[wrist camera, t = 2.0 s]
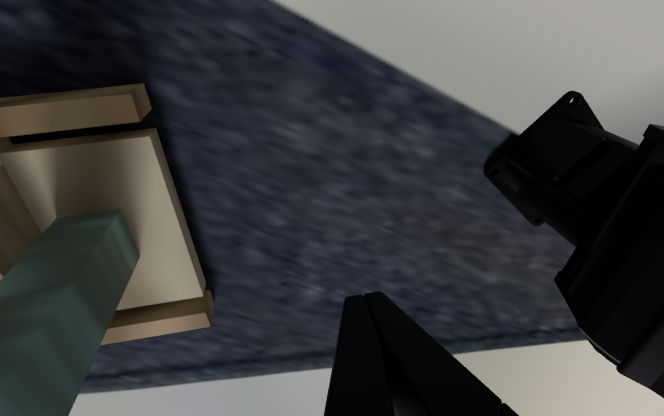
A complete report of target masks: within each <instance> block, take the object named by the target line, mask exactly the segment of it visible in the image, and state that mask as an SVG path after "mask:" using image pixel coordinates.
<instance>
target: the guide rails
mask: <svg viewBox="0 0 664 416" xmlns="http://www.w3.org/2000/svg"><path fill="white" fill-rule="evenodd" d="M151 109H152V108H151V105H150V101H149V98H148V95H147V92H146V89H145V86H144V83H142V84H132V85H122V86H113V87H103V88H93V89H84V90H74V91H64V92H54V93H45V94H35V95H25V96H15V97H6V98H0V137H9V136H18V135H27V134H36V133H45V132H53V131H62V130H71V129H80V128H89V127H98V126H107V125H116V124H124V123H133V122H141V120H142V119H143V118H144V117H145V116H146V115H147V114H148V113H149V112H150V111H151ZM213 307H214V301H213V298H212V295H211V292H210V290H204V295H203V296H202V297H196V298H190V299H184V300H177V301H171V302H165V303H159V304H152V305H146V306H140V307H134V308H128V309H121V310H116V311H115V313H114V316H113V318H112V320H111V322H110V325H109V327H108V329H107V331H106V333H105V336H104V338H103V340H102V342H101V344H100V345H104V344H110V343H116V342H122V341H128V340H134V339H140V338H146V337H152V336H158V335H163V334H169V333H175V332H181V331H187V330H193V329H199V328H205V327H210V326H211V320H212V313H213Z"/></svg>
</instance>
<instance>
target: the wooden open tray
mask: <svg viewBox="0 0 664 416" xmlns="http://www.w3.org/2000/svg"><path fill="white" fill-rule="evenodd" d="M205 285H206V281H205V278H204V275H203V272H202V269H201V266H200V263H199V260H198V257H197V254H196V251H195V247H194V244H193V241H192V238H191V235H190V232H189V229H188V226H187V223H186V220H185V216H184V213H183V210H182V207H181V204H180V201H179V198H178V195H177V192H176V189H175V186H174V182H173V179H172V176H171V173H170V170H169V167H168V164H167V161H166V158H165V155H164V151H163V148H162V145H161V142H160V139H159V136H158V133H157V130H156V128H152V129H143V130H134V131H126V132H117V133H108V134H100V135H91V136H82V137H73V138H65V139H56V140H47V141H39V142H30V143H21V144H12V143H11V141H10V139H9V137H0V416H68V415H69V413H70V411H71V408H72V406H73V404H74V402H75V400H76V397H77V395H78V393H79V391H80V389H81V386H82V384H83V382H84V380H85V378H86V375H87V373H88V371H89V369H90V367H91V364H92V362H93V360H94V358H95V355H96V353H97V351H98V349H99V347H100V344H101V342H102V340H103V338H104V336H105V333H106V331H107V329H108V327H109V325H110V322H111V320H112V318H113V316H114V313H115V311H116V310H121V309H128V308H134V307H140V306H146V305H152V304H159V303H165V302H171V301H177V300H184V299H190V298H196V297H202V296H203V295H204V290H205Z"/></svg>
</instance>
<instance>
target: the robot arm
mask: <svg viewBox="0 0 664 416" xmlns="http://www.w3.org/2000/svg"><path fill="white" fill-rule="evenodd" d="M572 98H573V101H572V102H571V103H570V100H571V99H572ZM643 136H644V139H643V141H642V142H641V144H640V145H638V144H636V143H633V142H631V141H629V140H626V139H624V138H621V137H619V136H617V135H614V134H612V133H610V132H607V131H605V130H604V129H603V127H602V125H601V124H600V122H599V121H598V119H597V118H596V116H595V114H594V113H593V111H592V110H591V108H590V107H589V105H588V103H587V102H586V100H585V99H584V97H583V96H582V94H581V93H579V92H575V91H569V92H567V93H566V94H565V95H563V96H562V97H561V98H560V99H559V100H558V101H557V102H556V103H555V104H553V105H552V106H551V107H550V108H549V109H548V110H547V111H546V112H545V113H544V114H543V115H541V116H540V117H539V118H538V119H537V120H536V121H535V122H534V123H533V124H531V125H530V126H529V127H528V128H527V129H526V130H525V131H524V132H523V133H522V134H520V135H519V136H518V137H517V138H516V139H515V140H514V141H513V142H512V143H510V144H509V145H508V146H507V147H506V148H505V149H504V150H503V151H502V152H501V153H499V154H498V155H497V156H496V157H495V158H494V159H493V160H492V161H491V162H490V163H488V164H487V165H486V167H485V169H484V174H485V176H486V177H487V178H488V179H489V180H490V181H491V182H492V183H493V184H494V185H495V186H496V187H497V189H498V190H499V191H500V192H501V193H502V194H503V195H504V196H505V197H506V198H507V199H508V200H509V201H510V202H511V203H512V204H513V205H514V206H515V207H516V209H517V210H518V211H519V212H520V213H521V214H522V215H523V216H524V217H525V218H526V219H527V220H528V221H529V222H530V223H531V224H532V225H534V226H540V225H542V224H543V223H544V222H546V223H547V224H548V225H549V226H551V227H552V228H553V229H554V230H555V231H557V232H558V233H559V234H560V235H561V236H563V237H564V238H565V239H566V240H567V241H569V242H570V243H571V244H572V245H573V246H575V247H576V248H575V250H574V252H573V253H572V255H571V257H570V258H569V260H568V261H567V263H566V265H565V266H564V268H563V269H562V271H559V272H558V274H557V275H556V277H555V278H554V281H555V283H556V284H557V286H558V288H559V290H560V292H561V294H562V295H563V297H564V299H565V301H566V303H567V304H568V306H569V308H570V310H571V312H572V314H573V315H574V317H575V319H576V321H577V325H578V327H579V329H580V330H581V331H582V332H583V334H584V335H585V337H586V338H587V340H588V341H589V342H590V344H591V345H592V346H593V347H594V349H595V350H596V351H597V352H599V353H600V354H602V355H603V356H604V357H605V358H606V359H608V360H609V361H610V362H612V363H613V364H615V365H616V366H617V367H616V369H617V371H618V372H619V373H620V374H622V375H624V376H626V377H628V378H630V379H632V380H634V381H635V382H637V383H640V384H641V385H643V386H645V387H647V388H649V389H651V390H652V391H654V392H655V393H657V394H658V395H660V396H661V397H663V398H664V126H659V125H653V124H649V126H648V128H647V129H646V131H645V132H644V134H643ZM493 169H495V171H494V172H493V173H491V172H492V170H493ZM324 416H519V415H518V414H516V413H515V412H514V411H513V410H512V409H511V408H510V407H509V406H508V405H507V404H505V403H503V404H502V401H501V399H500V398H499V397H498V396H496V395H495V394H494V393H493V392H492V391H491V390H490V389H489V388H488V387H487V386H485V385H484V384H483V383H482V382H481V381H480V380H479V379H478V378H477V377H475V376H474V375H473V374H472V373H471V372H470V371H469V370H468V369H467V368H466V367H464V366H463V365H462V364H461V363H460V362H459V361H458V360H457V359H456V358H454V357H453V356H452V355H451V354H450V353H449V352H448V351H447V350H446V349H445V348H443V347H442V346H441V345H440V344H439V343H438V342H437V341H436V340H435V339H433V338H432V337H431V336H430V335H429V334H428V333H427V332H426V331H425V330H423V329H422V328H421V327H420V326H419V325H418V324H417V323H416V322H415V321H414V320H412V319H411V318H410V317H409V316H408V315H407V314H406V313H405V312H404V311H402V310H401V309H400V308H399V307H398V306H397V305H396V304H395V303H394V302H392V301H391V300H390V299H389V298H388V297H387V296H386V295H385V294H384V293H382V292H380V291H378V292H372V293H367V294H365V295H364V296H362V295H355V296H349V297H346V298H345V300H344V306H343V311H342V317H341V322H340V328H339V333H338V339H337V345H336V350H335V356H334V361H333V367H332V372H331V378H330V384H329V389H328V395H327V401H326V406H325V411H324Z"/></svg>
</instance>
